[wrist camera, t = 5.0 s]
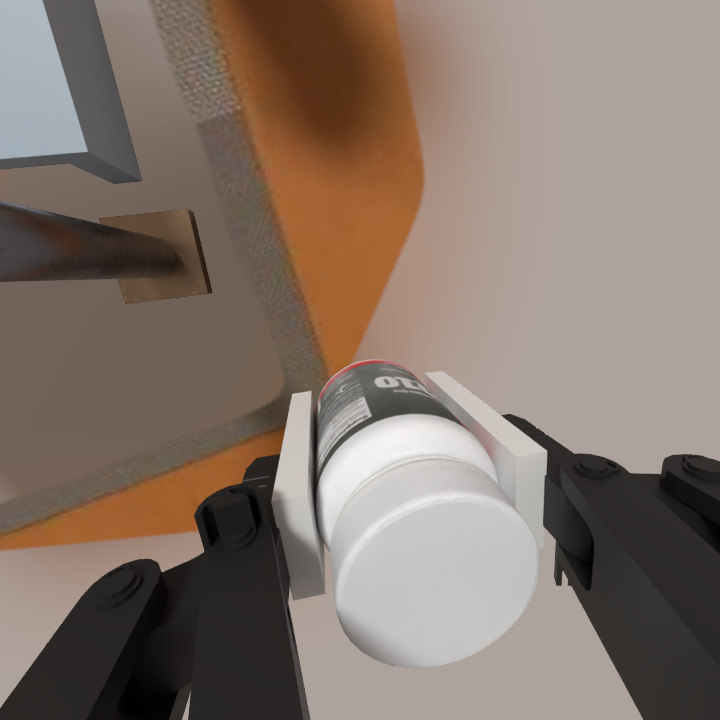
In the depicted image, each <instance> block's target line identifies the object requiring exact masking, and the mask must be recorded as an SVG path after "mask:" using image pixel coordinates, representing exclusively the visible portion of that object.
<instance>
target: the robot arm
mask: <svg viewBox="0 0 720 720" xmlns="http://www.w3.org/2000/svg"><path fill="white" fill-rule="evenodd" d="M425 379H426V380H425V381H426V388H427V389H428V390H429V391H430V392H431V393H432V394H433V395H434V396H435V397H436V398H437V399H438V400H439V401H440V402H441V403H442V404H443V405H444V406H445V407H446V408H447V409H448V410H449V411H450V412H451V413H452V414H453V415H454V416H455V417H457V419H458V420H459V421H460V422H461V423H462V424H463V425H464V426H466V427H467V428H468V429H469V430H470V431H471V432H472V433H473V434H474V435H475V436H476V438H477V439H478V440H479V442H480V443H481V444H482V446H483V447H484V448H485V450H486V451H487V453H488V455H489V456H490V458H491V460H492V462H493V464H494V467H495V470H496V473H497V477H498V483H499V487H500V488H501V489H502V491H503V492H504V493H505V494H506V496H507V497H508V498H509V499H510V501H511V502H512V503H513V505H514V506H515V507H516V509H517V510H518V511H519V512H520V513H521V515H522V516H523V517H524V518H525V520H526V521H527V522H528V524H529V526H530V527H531V529H532V531H533V533H534V535H535V538H536V541H537V543H538V548H543V547H544V527H545V528H546V529H547V530H548V531H549V533H550V534H551V535H552V536H553V537H554V538H555V539H556V550H555V570H554V578H555V581H556V585H557V586H558V585H559V586H561V584H562V571H564V573H565V575H566V577H567V578H568V585H569V586H572V587H573V590H574V591H575V593H576V595H577V597H578V599H579V601H580V603H581V604H582V606H583V608H584V610H585V612H586V614H587V615H588V617H589V619H590V621H591V623H592V625H593V627H594V629H595V631H596V632H597V634H598V636H599V638H600V640H601V642H602V644H603V645H604V647H605V649H606V651H607V653H608V655H609V657H610V658H611V660H612V662H613V664H614V666H615V668H616V670H617V671H618V673H619V675H620V677H621V679H622V681H623V682H624V684H625V686H626V688H627V690H628V692H629V694H630V696H631V697H632V699H633V701H634V703H635V705H636V707H637V709H638V710H639V712H640V714H641V716H642V718H643V720H720V461H717V460H714V459H709V458H706V457H704V456H699V455H691V454H682V455H671V456H669V457H667V458H665V459H664V461H663V466H662V473H661V474H635V473H634V474H633V473H629V472H628V471H627V470H626V469H625V468H624V467H622V466H621V465H619V464H617V463H616V462H614V461H611V460H609V459H607V458H604V457H600V456H596V455H592V454H574V453H572V452H571V451H569V450H568V449H567V448H565V447H564V446H562V445H561V444H559V443H558V442H556V441H555V440H554V439H552V438H551V437H549V436H548V435H545V433H544V432H542V431H541V430H539V429H538V428H537V429H536V427H535V426H534V425H532V424H531V423H529V422H528V421H526V420H525V419H522V418H520V417H517V416H514V415H511V414H506V415H500V414H498V413H497V412H496V411H494V410H493V409H492V408H490V407H489V406H488V405H486V404H485V403H484V402H483V401H481V400H480V399H479V398H477V397H476V396H475V395H473V394H472V393H471V392H469V391H468V390H467V389H465V388H464V387H463V386H462V385H460V384H459V383H458V382H456V381H455V380H454V379H452V378H451V377H450V376H448V375H447V374H446V373H444V372H443V371H438V372H431V373H425ZM315 422H316V419H315V411H314V405H313V399H312V393H311V391H308V392H302V393H295V394H292V398H291V403H290V409H289V414H288V419H287V424H286V429H285V434H284V439H283V444H282V449H281V454H278V455H272V456H266V457H260V458H256V459H255V460H254V462H253V463H252V464H251V465H250V466H249V467H248V468H247V469H246V472H245V475H244V478H243V482H242V483H241V484H237V485H232V486H228V487H226V488H224V489H221V490H219V491H217V492H215V493H214V494H212V495H211V496H209V497H208V498H206V499H205V500H204V501H203V502H202V503H201V504H200V505H199V506H198V508H197V510H196V513H195V515H194V516H195V520H196V523H197V526H198V530H199V533H200V536H201V540H202V543H203V547H204V553H202V554H201V555H199V556H197V557H195V558H193V559H192V560H190V561H188V562H185V563H183V564H181V565H178V566H176V567H174V568H171V569H169V570H167V571H164V572H161V570H160V567H159V564H158V562H156V561H153V560H152V559H139V560H135V561H132V562H128V563H125V564H123V565H121V566H119V567H117V568H115V569H114V570H112V571H110V572H108V573H107V574H106V575H104V576H103V577H101V578H100V579H99V580H98V581H96V582H95V583H94V584H93V585H92V586H91V587H90V588H89V589H88V590H87V591H86V592H85V593H84V595H83V596H82V597H81V598H80V599H79V601H78V602H77V604H76V605H75V606H74V608H73V609H72V610H71V612H70V613H69V614H68V616H67V617H66V619H65V620H64V621H63V623H62V624H61V625H60V627H59V628H58V630H57V631H56V632H55V634H54V635H53V636H52V638H51V639H50V641H49V642H48V643H47V645H46V646H45V648H44V649H43V650H42V652H41V653H40V654H39V656H38V657H37V659H36V660H35V661H34V663H33V664H32V666H31V667H30V668H29V670H28V671H27V672H26V674H25V675H24V676H23V678H22V679H21V680H20V682H19V683H18V685H17V686H16V687H15V689H14V690H13V691H12V693H11V694H10V696H9V697H8V698H7V700H6V701H5V702H4V704H3V705H2V707H1V708H0V720H182V717H183V714H184V711H185V708H186V704H187V701H188V698H189V694H190V691H191V696H190V706H189V717H188V720H310V715H309V710H308V705H307V699H306V694H305V688H304V683H303V678H302V672H301V667H300V662H299V656H298V651H297V645H296V640H295V635H294V630H293V624H292V619H291V614H290V610H289V606H288V598H289V588H290V589H291V593H292V598H293V600H297V599H302V598H307V597H312V596H316V595H321V594H325V565H324V564H325V563H324V542H323V539H322V537H321V534H320V531H319V527H318V522H317V516H316V502H315V494H316V492H315V489H316V428H315Z"/></svg>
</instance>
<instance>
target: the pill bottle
mask: <svg viewBox="0 0 720 720" xmlns="http://www.w3.org/2000/svg"><path fill="white" fill-rule="evenodd" d="M315 419H316V422H315V428H316V489H315V492H316V494H315V502H316V516H317V522H318V527H319V531H320V534H321V537H322V539H323V542H324V544H325V545H326V547H327V549H328V551H329V552H330V553H329V556H330V565H331V571H332V577H333V585H334V598H335V605H336V611H337V615H338V618H339V621H340V624H341V626H342V628H343V630H344V632H345V634H346V635H347V636H348V638H349V639H350V641H351V642H352V643H353V644H354V645H355V646H357V648H358V649H359V650H361V651H362V652H363V653H365V654H367V655H368V656H370V657H372V658H373V659H375V660H378V661H380V662H382V663H385V664H388V665H392V666H398V667H404V668H428V667H436V666H440V665H444V664H448V663H452V662H456V661H459V660H461V659H464V658H466V657H468V656H470V655H472V654H474V653H476V652H479V651H480V650H482V649H484V648H485V647H487V646H488V645H490V644H491V643H493V642H494V641H495V640H497V639H498V638H499V637H500V636H502V635H503V634H504V633H505V632H506V631H507V630H508V629H509V628H510V627H511V626H512V625H513V624H514V623H515V622H516V620H517V619H518V618H519V617H520V616H521V614H522V613H523V612H524V610H525V609H526V607H527V606H528V604H529V602H530V600H531V597H532V595H533V593H534V590H535V587H536V584H537V581H538V577H539V572H540V553H539V548H538V543H537V541H536V538H535V535H534V533H533V531H532V529H531V527H530V526H529V524H528V522H527V521H526V520H525V518H524V517H523V516H522V515H521V513H520V512H519V511H518V510H517V509H516V507H515V506H514V505H513V503H512V502H511V501H510V499H509V498H508V497H507V496H506V494H505V493H504V492H503V491H502V489H501V488H500V487H499V483H498V477H497V473H496V470H495V467H494V464H493V462H492V460H491V458H490V456H489V455H488V453H487V451H486V450H485V448H484V447H483V446H482V444H481V443H480V442H479V440H478V439H477V438H476V436H475V435H474V434H473V433H472V432H471V431H470V430H469V429H468V428H467V427H466V426H464V425H463V424H462V423H461V422H460V421H459V420H458V419H457V417H455V416H454V415H453V414H452V413H451V412H450V411H449V410H448V409H447V408H446V407H445V406H444V405H443V404H442V403H441V402H440V401H439V400H438V399H437V398H436V397H435V396H434V395H433V394H432V393H431V392H430V391H429V390H428V389H427V388H426V387H425V386H424V385H423V384H422V383H421V382H420V381H419V380H418V379H417V377H416V376H415V375H414V374H412V373H411V372H410V371H408V370H407V369H406V368H404V367H403V366H401V365H399V364H396V363H394V362H390V361H386V360H378V359H373V360H372V359H371V360H363V361H359V362H356V363H354V364H351V365H349V366H347V367H345V368H344V369H342V370H341V371H339V372H338V373H337V374H335V375H334V376H333V377H332V378H331V379H330V380H329V381H328V383H327V384H326V385H325V387H324V388H323V390H322V392H321V394H320V396H319V399H318V402H317V407H316V416H315Z"/></svg>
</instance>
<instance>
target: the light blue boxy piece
mask: <svg viewBox="0 0 720 720" xmlns="http://www.w3.org/2000/svg"><path fill="white" fill-rule="evenodd" d="M67 163H70V164H72V165H74V166H76V167H78V168H81V169H83V170H85V171H87V172H90V173H92V174H94V175H96V176H98V177H101V178H103V179H105V180H107V181H109V182H112V183H114V184H116V183H125V182H137V181H142V178H141V175H140V171H139V167H138V163H137V159H136V156H135V152H134V148H133V145H132V141H131V137H130V133H129V130H128V126H127V122H126V119H125V115H124V111H123V107H122V103H121V100H120V96H119V93H118V88H117V85H116V81H115V78H114V74H113V70H112V67H111V62H110V59H109V55H108V51H107V47H106V44H105V40H104V36H103V33H102V29H101V25H100V21H99V17H98V14H97V10H96V6H95V2H94V0H0V169H10V168H21V167H32V166H44V165H56V164H67Z"/></svg>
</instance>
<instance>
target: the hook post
mask: <svg viewBox="0 0 720 720" xmlns="http://www.w3.org/2000/svg"><path fill="white" fill-rule="evenodd" d="M99 220H100V223H101V224H97V223H93V222H89V221H85V220H81V219H76V218H72V217H68V216H64V215H59V214H55V213H51V212H46V211H42V210H38V209H33V208H29V207H25V206H21V205H16V204H12V203H7V202H3V201H0V282H12V281H13V282H14V281H52V280H53V281H54V280H91V279H93V280H95V279H118V282H119V285H120V288H121V292H122V295H123V298H124V301H125V304H131V303H139V302H146V301H154V300H162V299H170V298H178V297H186V296H193V295H201V294H209V293H212V289H211V285H210V280H209V276H208V272H207V268H206V263H205V259H204V255H203V251H202V246H201V242H200V238H199V234H198V230H197V225H196V221H195V217H194V213H193V212H192V211H190V210H188V209H185V210H176V211H166V212H156V213H146V214H137V215H127V216H117V217H108V218H99Z"/></svg>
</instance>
